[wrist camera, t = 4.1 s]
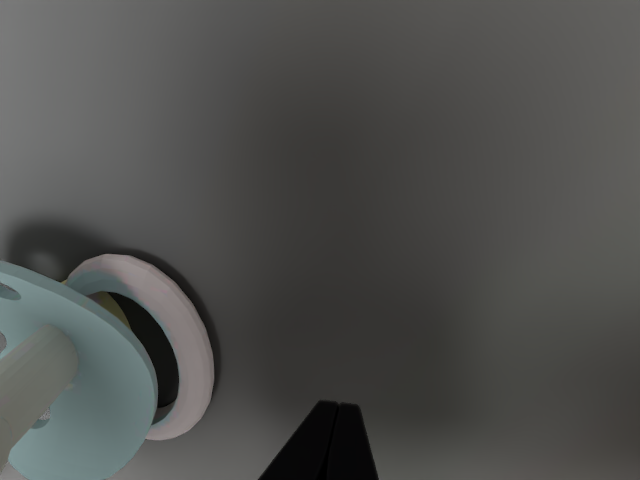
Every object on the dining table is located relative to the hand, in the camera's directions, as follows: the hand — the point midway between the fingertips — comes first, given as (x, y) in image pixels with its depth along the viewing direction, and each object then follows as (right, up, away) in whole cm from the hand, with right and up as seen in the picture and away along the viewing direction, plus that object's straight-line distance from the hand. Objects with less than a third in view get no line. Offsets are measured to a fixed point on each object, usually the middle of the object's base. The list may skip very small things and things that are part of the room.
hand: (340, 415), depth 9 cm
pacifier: (-6, +1, +3) cm, 7 cm away
